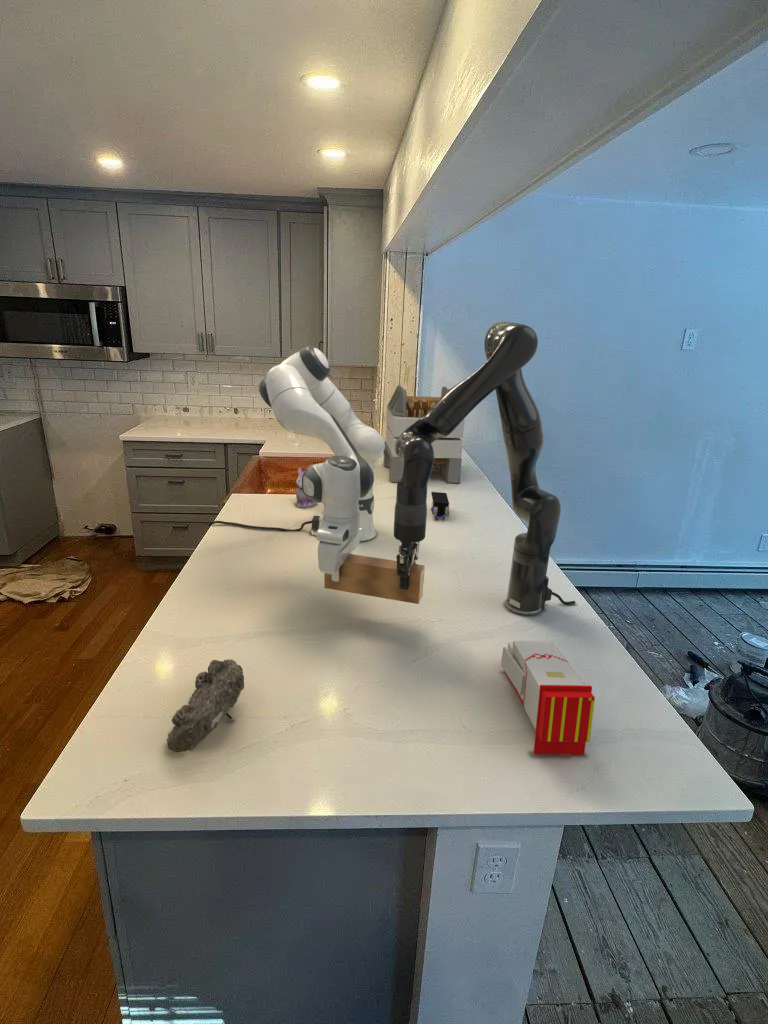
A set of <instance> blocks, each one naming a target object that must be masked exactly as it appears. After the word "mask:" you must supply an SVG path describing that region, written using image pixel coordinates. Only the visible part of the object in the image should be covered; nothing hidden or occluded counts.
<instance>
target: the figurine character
mask: <svg viewBox="0 0 768 1024" xmlns="http://www.w3.org/2000/svg"><path fill="white" fill-rule="evenodd" d="M430 494H431V498H432V502H431V508H430V511H431V515H432V516H433V517H434V518H435V520H437V521H438V518H442V520H443V521H445V520H446V518H445V517H450V501H449V498H448V494H447V492H440V491H431V493H430Z"/></svg>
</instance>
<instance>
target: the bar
mask: <svg viewBox="0 0 768 1024" xmlns="http://www.w3.org/2000/svg"><path fill="white" fill-rule="evenodd" d="M425 566H426V565H425V564H419V563H416V564H413V566H411V569H410V576H409V588H408V590H403V589H400V588H399V582H400V576H397V560H393V559H388V558H379V557H374V556H367V555H360V554H354V553H351V554H350V555H349V556H348V557H347V559H346V560H345V561H344V563H343V564H342V565H341V566H340V569H339V573H341V575H340V579H339V581H338V582H336V581H333V580H332V574H326V573H323V574H324V576H323V577H324V578H323V579H324V581H323V582H324V583H323V585H324V586H323V587H324V589H329V590H333V591H338V592H339V591H340V592H345V593H351V594H357V595H361V596H362V595H364V596H369V597H375V598H381V599H386V600H392V601H399V602H404V603H411V604H415V605H419V604H420V602H421V600H422V599H423V596H424V583H425V571H426V570H425ZM402 570H404V569H402ZM404 571H405V570H404Z"/></svg>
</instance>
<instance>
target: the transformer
mask: <svg viewBox="0 0 768 1024" xmlns="http://www.w3.org/2000/svg"><path fill="white" fill-rule="evenodd" d="M450 389H451V388H447V386H442V387H441V392H440V393H441V394H440V396H415V395H414V396H413V395H412V396H411V395H407V394H408V393H407V390H406V389H404V388H403V387H402V385H399V384H398V385H397V386H396V388H395V390H394V392H393V394H392V395H391V398H390V400H389V402H388V404H387V405H386V413H385V414H386V415H385V423H386V428H385V438H384V442H385V450H384V452H383V466H384V467H388V468H389V475H388V476H389V477H388V478H389V480H390V482H391V483H397V482H398V478H399V477H400V476H401V475H403V468H404V461H402V460H401V459H400V458H399V457H398V456H397V454H396V451H395V445H396V442H397V440H398V438H399V436H400V435H401V434H402V433H403V432H404V431H405V430H406V429H407V428H408V427H410V426H411V425H412V424H413V423H415V422H416V421H417V420H419V419H420V418H422V417H423V416H424V415H426V414H427V413H428V411H429V410H430V409H431V408H432V407H433V406H434V405H435V404H436V403H437V401H438V400H439V399H440V398H441V397H442V396H443V395H444V394H445V393H446V392H447V391H448V390H450ZM464 429H465V419H464V420H463V421H462V422H461V423H460V424H459V425H458V426H457V427H456V428H455V429H454V430H453V431H452V432H451V433H450V434H449V435H448V436H447V437H441V438H438V439H436V440H435V441H434V442H433V443H432V446H433V450H434V462H433V466H432V467H436V468H437V470H438V469H439V473H440V474H441V475H443V478H444V479H445V481H446V482H447V483H449V484H455V483H456V484H459V483H461V472H462V461H463V460H462V453H463V442H464V441H463V440H462V439H463V438H464V431H465V430H464Z"/></svg>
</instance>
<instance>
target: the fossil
mask: <svg viewBox="0 0 768 1024" xmlns="http://www.w3.org/2000/svg"><path fill="white" fill-rule="evenodd" d="M243 670H244V669H243V667H242V665H240V664H237V662H236V661H235V660H234V659H232V658H231V659H227V658H226V659H224V660H223V661H222V660H217V659H212V660H211V661H210V663H209V665H208V666H207V671H201V672H199V673H198V674H197V675H196V676H195V680H194V684H195V685H194V687H195V689H194V690H193V693H192V694H191V697H190V698H189V700H188V704H184V705H182V706H181V707H180V709H177V710H176V711H175V713H174V715H173V716H172V718H171V723H172V724H173V727H172V730H171V731H170V732H168V734H167V738H166V741H167V742H166V745H167V749H168V750H169V751H173V752H174V753H176V754H178V753H182V752H188V751H189V752H192V751H193V750H195V748H196V747H197V746H199V744H200V743H201V742H203V741H204V740H205V739H206V738H207V737H208V736H209V735H210V734H211V733H212V732H214V730H215V729H217V727H218V726H219V724H220V722H221V721H222V720H223V719H224V718H225V716H226V717H227V719H229V720H233V717H232V715H230V714H229V710H230V709H231V708H234V706H235V704H236V703H237V702H238V699H239V697H240V695H241V693H242V691H243V690H245V689H244V688H245V675H244V671H243Z"/></svg>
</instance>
